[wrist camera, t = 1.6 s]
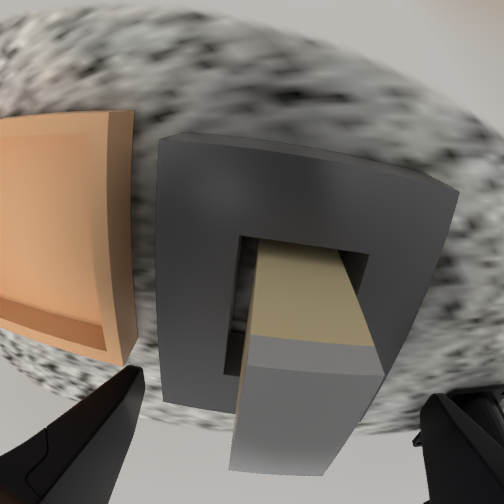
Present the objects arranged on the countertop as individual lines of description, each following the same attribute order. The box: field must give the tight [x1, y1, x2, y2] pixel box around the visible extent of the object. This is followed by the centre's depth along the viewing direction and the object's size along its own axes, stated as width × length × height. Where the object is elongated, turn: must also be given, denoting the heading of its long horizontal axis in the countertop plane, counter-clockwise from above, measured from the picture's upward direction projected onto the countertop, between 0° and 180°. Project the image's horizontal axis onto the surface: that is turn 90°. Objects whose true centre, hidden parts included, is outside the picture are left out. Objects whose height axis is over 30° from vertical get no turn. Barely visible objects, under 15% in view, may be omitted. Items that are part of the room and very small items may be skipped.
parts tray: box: [0, 110, 138, 367], centre depth 13 cm, size 12×12×2 cm
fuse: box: [229, 238, 385, 476], centre depth 11 cm, size 3×5×8 cm, turn 173°
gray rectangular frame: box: [155, 132, 459, 422], centre depth 13 cm, size 10×12×3 cm
